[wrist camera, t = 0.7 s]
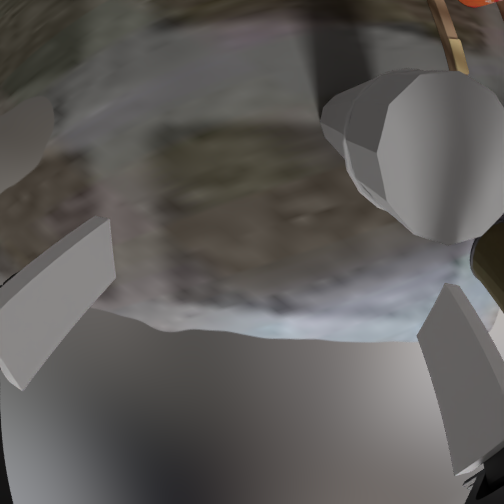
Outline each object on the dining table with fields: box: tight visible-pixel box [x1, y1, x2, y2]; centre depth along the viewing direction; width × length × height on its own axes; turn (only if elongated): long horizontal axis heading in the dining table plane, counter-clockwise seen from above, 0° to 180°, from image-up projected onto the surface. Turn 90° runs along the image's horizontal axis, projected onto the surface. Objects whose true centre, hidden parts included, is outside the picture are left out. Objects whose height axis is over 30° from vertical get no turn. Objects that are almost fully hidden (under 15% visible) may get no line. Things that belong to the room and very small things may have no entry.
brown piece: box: [427, 0, 504, 76], centre depth 20 cm, size 36×15×2 cm, turn 16°
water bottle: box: [320, 68, 504, 246], centre depth 19 cm, size 9×8×25 cm
